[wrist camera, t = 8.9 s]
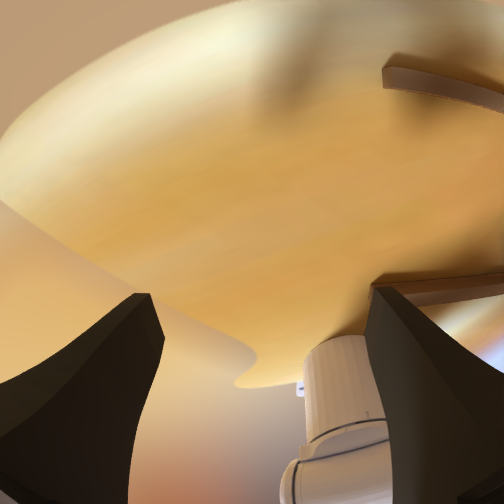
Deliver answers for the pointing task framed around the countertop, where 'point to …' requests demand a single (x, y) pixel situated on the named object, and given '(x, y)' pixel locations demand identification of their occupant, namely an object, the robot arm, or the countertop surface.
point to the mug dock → (467, 93)
